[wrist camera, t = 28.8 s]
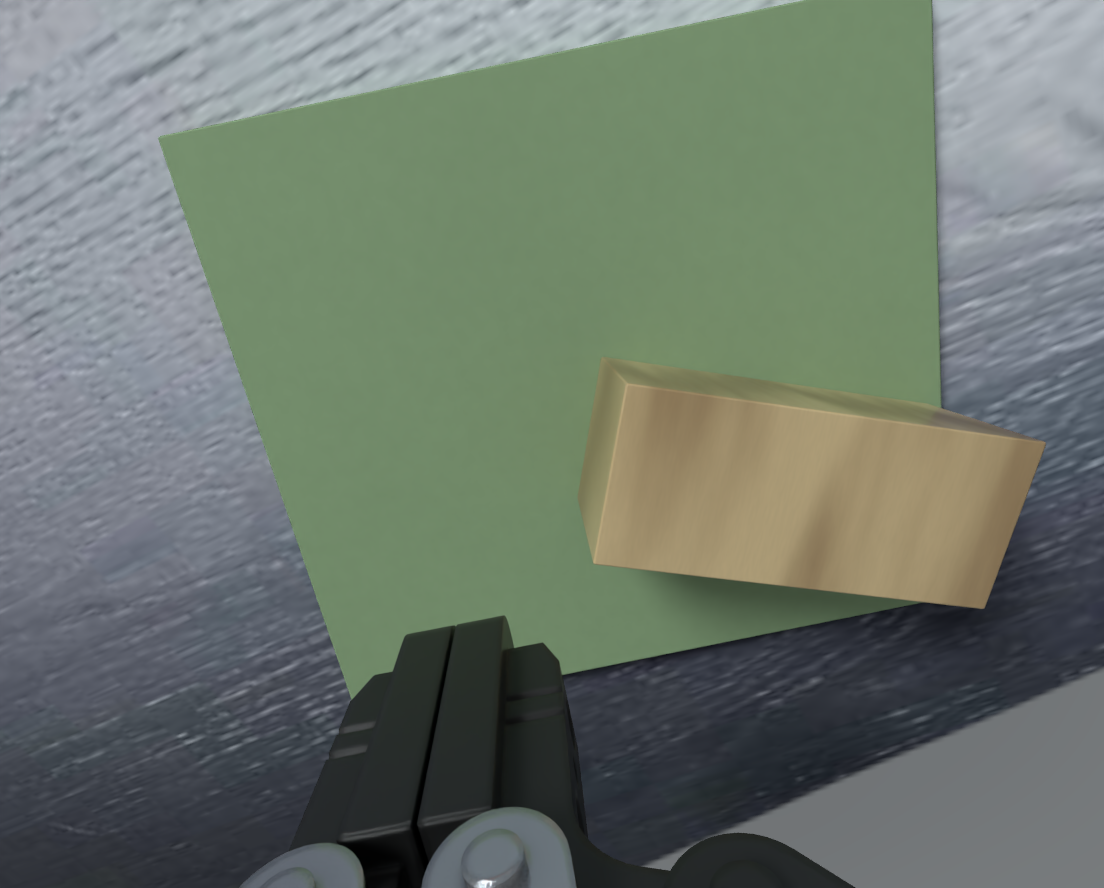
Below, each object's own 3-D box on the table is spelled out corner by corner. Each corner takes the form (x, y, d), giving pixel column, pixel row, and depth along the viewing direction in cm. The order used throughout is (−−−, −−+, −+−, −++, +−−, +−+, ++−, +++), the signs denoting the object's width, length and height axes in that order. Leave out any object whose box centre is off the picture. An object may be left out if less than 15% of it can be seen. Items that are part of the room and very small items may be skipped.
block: (601, 356, 18) (927, 403, 18) (576, 499, 19) (885, 537, 20) (625, 382, 13) (1048, 442, 14) (592, 565, 15) (985, 610, 15)
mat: (935, 589, 21) (946, 598, 20) (361, 705, 21) (356, 717, 20) (917, -17, 16) (932, -28, 15) (169, 141, 16) (156, 136, 16)
